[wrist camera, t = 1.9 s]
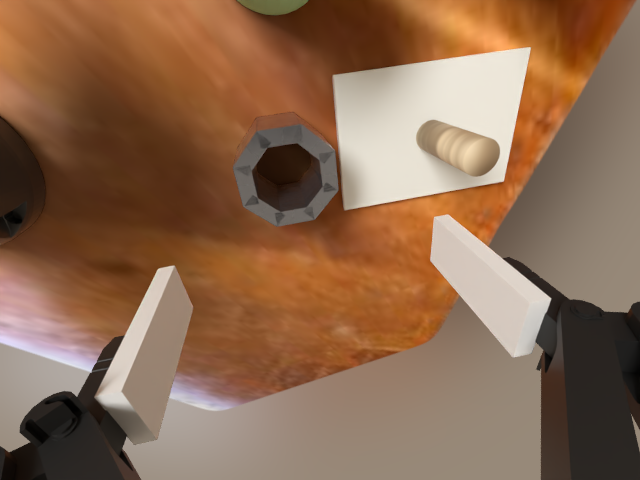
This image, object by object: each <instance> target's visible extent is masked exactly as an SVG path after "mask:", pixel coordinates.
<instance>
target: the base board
mask: <svg viewBox="0 0 640 480" xmlns="http://www.w3.org/2000/svg"><path fill="white" fill-rule="evenodd" d="M530 50H531V47H526V48H518V49H511V50H504V51H497V52H490V53H483V54H476V55H469V56H462V57H455V58H448V59H441V60H434V61H427V62H420V63H413V64H406V65H399V66H392V67H385V68H378V69H371V70H364V71H357V72H350V73H343V74H336V75H332V81H333V92H334V104H335V116H336V128H337V140H338V152H339V164H340V176H341V187H342V199H343V208H344V210H349V209H355V208H360V207H366V206H371V205H377V204H382V203H388V202H393V201H399V200H404V199H410V198H415V197H421V196H426V195H432V194H437V193H443V192H448V191H454V190H459V189H465V188H470V187H476V186H481V185H487V184H492V183H498V182H503V181H504V178H505V173H506V168H507V163H508V158H509V153H510V148H511V143H512V138H513V133H514V128H515V124H516V119H517V114H518V109H519V104H520V99H521V94H522V89H523V84H524V79H525V75H526V70H527V65H528V60H529V55H530ZM429 120H437V121H440V122H443V123H446V124H449V125H452V126H455V127H458V128H461V129H464V130H467V131H470V132H473V133H476V134H479V135H482V136H485V137H488V138H491V139H494V140H495V141H496V142H497V143H498V144H499V147H500V156H499V159H498V161H497V163H496V165H495V166H494V167H493V168H492V169H491V170H490V171H489V172H488V173H486V174H484V175H482V176H478V177H474V176H470V175H468V174H467V173H465V172H463V171H461V170H459V169H457V168H456V167H454V166H452V165H450V164H448V163H446V162H444V161H443V160H441V159H439V158H437V157H435V156H433V155H432V154H430V153H428V152H426V151H424V150H422V149H421V148H419V146H418V145H417V142H416V135H417V132H418V130H419V128H420V127H421V125H422V124H424V123H425V122H427V121H429Z"/></svg>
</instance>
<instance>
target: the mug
mask: <svg viewBox="0 0 640 480" xmlns="http://www.w3.org/2000/svg"><path fill="white" fill-rule="evenodd" d="M237 1H238V2H239V3H241V4H242V5H243V6H245V7H247V8H249V9H251V10H253V11H255V12H258V13H261V14H265V15H282V14H287V13H290V12H292V11H295V10H297V9H298V8H300V7H301V6H303V5H304V4H306V3H307V2H308V1H309V0H237Z"/></svg>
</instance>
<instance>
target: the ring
mask: <svg viewBox="0 0 640 480" xmlns="http://www.w3.org/2000/svg"><path fill="white" fill-rule="evenodd" d="M294 143H297V144H299V145H300V146H301V147H303V148H304V149H305V150H307V151H308V152H309V153H310V158H311V165H310V167H309V168H308V169H307V171H306V172H305V173H304V175H303V176H302V177H301V179H300V180H299V181H298V182H294V183H288V184H282V185H275V184H274V183H272V182H271V181H269V180H268V179H266V178H264V177H263V176H261V175H260V174H258V171H257V167H256V164H257V162H258V161H259V160H260V158H261V157H262V155H263V154H264V152H265V151H266V149H267V148H270V147H276V146H282V145H288V144H294ZM233 170H234V174H235V178H236V182H237V185H238V189H239V193H240V196H241V200H242V204H243V207H244V208H246V209H248V210H249V211H251V212H253V213H254V214H256V215H258V216H260V217H261V218H263V219H265V220H266V221H268V222H270V223H272V224H273V225H275V226H277V227H278V226H283V225H289V224H294V223H300V222H305V221H311V220H314V219H316V218H317V216H318V215H319V214H320V213H321V211H322V210H323V209H324V208H325V206H326V205H327V204H328V203H329V202H330V200H331V199H332V198H333V197H334V195H335V194H336V193H337V192H338V190H339V189H338V178H337V167H336V155H335V150H334V149H333V148H332V147H331V145H330V144H329V143H328V142H327V141H326V139H325V138H324V137H323V136H322V135H321V134H320V133H319V132H318V131H317V130H315V129H314V128H313V127H312V126H310V125H309V124H308V123H307V122H305V121H304V120H303V119H302V118H300V117H299V116H298V115H297V114H295V113H294V112H288V113H281V114H275V115H268V116H261V117H257V118H256V119H255V121H254V122H253V124H252V126H251V127H250V129H249V130H248V132H247V133H246V135H245V136H244V138H243V140H242V141H241V143H240V144H239V146H238V148H237V152H236V156H235V160H234V165H233Z"/></svg>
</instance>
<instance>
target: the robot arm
mask: <svg viewBox="0 0 640 480" xmlns="http://www.w3.org/2000/svg"><path fill="white" fill-rule="evenodd" d="M44 202H45V183H44V178H43V175H42V172H41V169H40V167H39V165H38V163H37V161H36V159H35V157H34V155H33V154H32V152H31V150H30V149H29V148H28V146H27V145H26V143H25V142H24V141H23V140H22V139H21V137H20V136H19V135H18V134H17V133H16V132H15V131H14V130H13V129H12V128H11V127H10V126H9V125H8V124H7V123H6V122H5V121H4V120H3V119H1V118H0V245H2V244H5V243H7V242H9V241H10V240H12V239H14V238H15V237H17V236H18V235H19V234H21V233H22V232H24V231H25V230H26V229H28V228H29V227H30V226H31V225H32V224H33V223H34V222H35V221H36V220H37V219H38V217H39V215H40V214H41V212H42V209H43V206H44ZM430 261H431V262H432V263H433V264H434V266H435V267H436V268H437V269H438V270H439V271H440V273H441V274H442V275H443V276H444V277H445V278H446V280H447V281H448V282H449V283H450V284H451V285H452V287H453V288H454V289H455V290H456V291H457V293H458V294H459V295H460V296H461V297H462V298H463V299H464V301H465V302H466V303H467V304H468V305H469V306H470V308H471V309H472V310H473V311H474V312H475V314H476V315H477V316H478V317H479V318H480V319H481V320H482V322H483V323H484V324H485V325H486V327H487V328H488V329H489V330H490V331H491V332H492V334H493V335H494V336H495V337H496V338H497V339H498V341H499V342H500V343H501V344H502V345H503V346H504V348H505V349H506V350H507V351H508V352H509V353H510V354H511V356H512V357H518V356H522V355H527V354H531V353H532V351H533V348H534V346H535V343H537V344H539V346H540V347H541V348H542V349H543V353H542V355H541V358H540V361H539V363H538V366H537V370H540V369H541V480H640V452H639V447H638V443H637V438H636V434H635V430H634V425H633V421H632V416H633V418H634V420H635V422H636V423H637V425H638V427H639V429H640V302H637V303H634V304H633V305H632V306H631V309H630V310H629V312H628V313H624V312H604V311H603V310H602V309H601V308H599V307H597V306H595V305H594V304H592V303H588V302H585V301H582V300H569V299H568V298H567V297H565V296H564V295H563V294H562V293H560V292H559V291H558V290H556V289H555V288H554V287H553V286H551V285H550V284H549V283H547V282H546V281H545V280H543V279H542V278H540V277H539V276H538V275H537V274H536V273H534V272H532V271H531V270H530V269H529V268H528V267H527V266H525V265H524V264H523V263H521V262H519V261H517V260H514V259H512V258H510V257H507V258H501V257H500V256H498V255H497V254H496V253H495V252H494V251H492V250H491V249H490V248H489V247H487V246H486V245H485V244H484V243H483V242H481V241H480V240H479V239H478V238H476V237H475V236H474V235H473V234H471V233H470V232H469V231H468V230H467V229H465V228H464V227H463V226H462V225H460V224H459V223H458V222H457V221H455V220H454V219H453V218H452V217H451V216H449V215H443V216H437V217H434V224H433V236H432V248H431V260H430ZM192 311H193V305H192V303H191V301H190V299H189V296H188V294H187V292H186V290H185V287H184V285H183V283H182V281H181V278H180V276H179V274H178V272H177V269H176V267H175V265H174V266H169V267H163V268H158V270H157V272H156V274H155V276H154V278H153V280H152V282H151V284H150V286H149V288H148V290H147V292H146V294H145V296H144V298H143V300H142V302H141V304H140V306H139V308H138V310H137V312H136V315H135V317H134V319H133V321H132V323H131V325H130V327H129V329H128V331H127V333H126V335H124V336H119V337H115V338H114V339H113V340H112V341H111V342H110V343H109V344H108V345H107V346H106V347H105V348H104V349H103V351H102V353H101V354H100V356H99V358H98V360H97V363H96V364H95V365H94V367H93V369H92V373H90V374H89V376H88V378H87V380H86V382H85V384H84V385H83V387H82V389H81V391H80V393H79V395H78V397H76V396H75V395H74V394H73V393H72V392H66V391H63V392H59V393H56V394H53V395H51V396H49V397H47V398H45V399H44V400H43V401H41V402H40V403H39V404H37V405H36V406H34V407H33V408H32V409H31V410H30V412H29V413H28V414H27V415H26V416H25V418H24V419H23V421H22V423H21V425H20V433H21V434H22V435H23V436H24V437H26V438H27V439H28V440H29V441H30V443H28V444H26V445H24V446H22V447H20V448H18V449H16V450H13V451H12V452H8V451H6V450H5V449H4V448H2V447H0V480H141V479H140V477H139V475H138V473H137V472H136V470H135V468H134V467H133V465H132V463H131V461H130V459H129V457H128V456H127V454H126V453H125V451H124V450H123V449H122V447H123V445H124V442H125V439H126V437H128V438H129V439H130V441H131V442H132V443H133V444H134V445H136V444H140V443H145V442H149V441H154V440H157V438H158V435H159V431H160V427H161V424H162V420H163V417H164V413H165V409H166V406H167V402H168V398H169V395H170V391H171V388H172V384H173V380H174V377H175V373H176V369H177V366H178V362H179V358H180V355H181V351H182V348H183V344H184V340H185V337H186V333H187V329H188V326H189V322H190V319H191V315H192ZM631 414H632V416H631Z"/></svg>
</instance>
